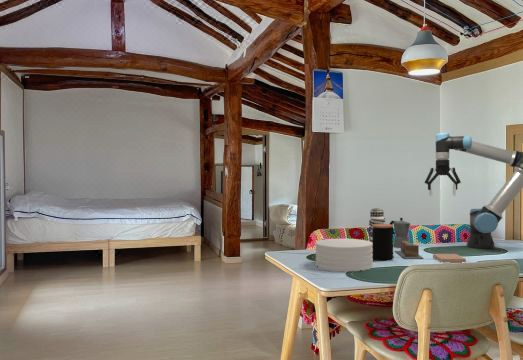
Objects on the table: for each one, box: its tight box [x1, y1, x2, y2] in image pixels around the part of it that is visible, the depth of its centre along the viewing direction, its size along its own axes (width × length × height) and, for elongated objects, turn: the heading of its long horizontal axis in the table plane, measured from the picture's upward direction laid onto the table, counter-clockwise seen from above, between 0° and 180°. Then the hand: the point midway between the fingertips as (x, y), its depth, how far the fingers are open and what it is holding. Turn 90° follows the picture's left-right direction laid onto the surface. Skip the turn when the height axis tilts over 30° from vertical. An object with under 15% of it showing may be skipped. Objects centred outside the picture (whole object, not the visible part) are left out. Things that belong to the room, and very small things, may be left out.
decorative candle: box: [368, 207, 386, 248], centre depth 269 cm, size 9×9×25 cm
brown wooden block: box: [400, 240, 420, 257], centre depth 259 cm, size 18×7×6 cm, turn 177°
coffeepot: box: [389, 217, 411, 249], centre depth 285 cm, size 15×9×18 cm, turn 33°
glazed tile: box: [432, 253, 467, 264], centre depth 242 cm, size 12×3×14 cm
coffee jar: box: [372, 223, 394, 261], centre depth 249 cm, size 11×11×18 cm
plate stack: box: [315, 238, 374, 272], centre depth 233 cm, size 28×28×12 cm
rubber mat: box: [394, 250, 424, 260], centre depth 258 cm, size 10×22×1 cm, turn 177°
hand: (442, 195), depth 276 cm, fingers open, 13 cm apart
